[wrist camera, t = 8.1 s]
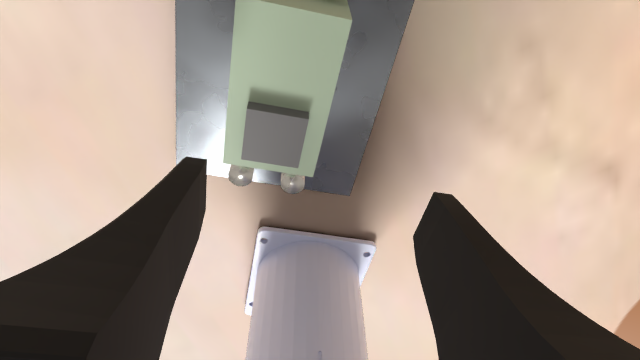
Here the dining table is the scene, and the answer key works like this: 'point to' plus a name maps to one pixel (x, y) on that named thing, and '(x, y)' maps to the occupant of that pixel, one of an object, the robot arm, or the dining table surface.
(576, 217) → the dining table surface
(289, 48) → the green block
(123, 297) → the robot arm
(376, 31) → the plate
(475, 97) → the dining table surface
